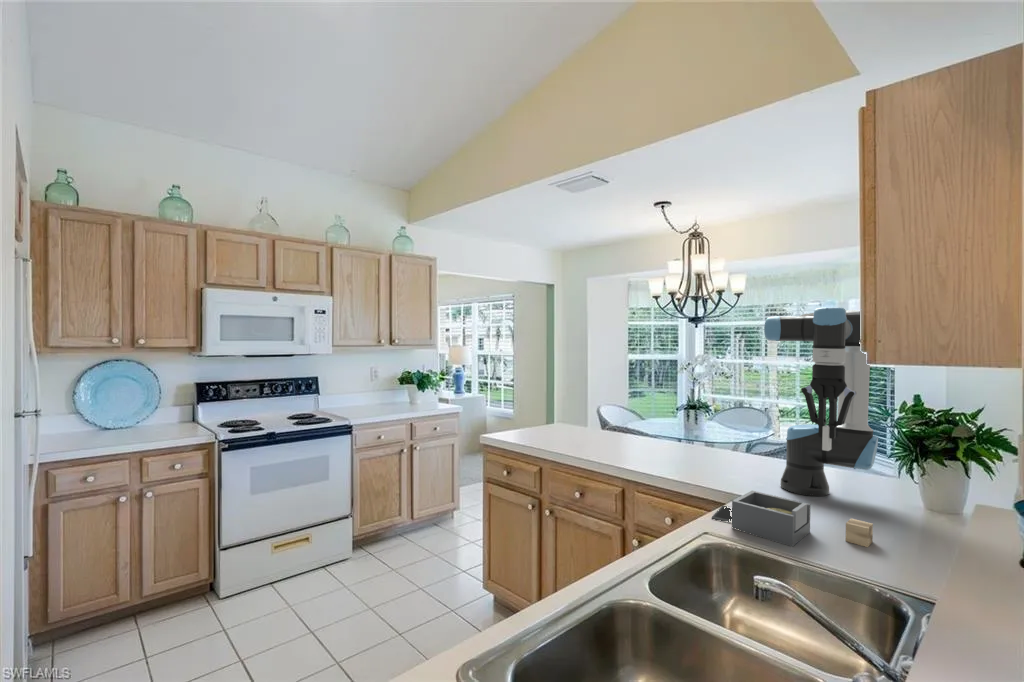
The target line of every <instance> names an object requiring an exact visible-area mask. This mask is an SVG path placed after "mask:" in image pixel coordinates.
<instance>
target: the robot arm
mask: <svg viewBox="0 0 1024 682" xmlns="http://www.w3.org/2000/svg"><path fill="white" fill-rule="evenodd" d="M860 310H861V309H849V310H848V309H845V308H844V307H818V308H815V309H814V310H813V312H809V313H803V314H800V315H799V316H798V315H797V316H794V315H793V316H779V315H777V316H769V317H767V318H766V319H765V321H764V326H763V327H764V329H763V330H764V337H765V339H767V341H774V342H812V362H813V363H814V364H813V365H812V367H811V368H812V370H811V371H812V372H811V374H812V375H811V381H810V382H809V385H807V386H805V387H802V388H800V391H801V393H802V394H803V395H804V398H805V402H806V406H807V411H808V415H809V418H810V422H811V423H814V424H807V423H806V424H796V425H792V426H791V425H790V426H789V427H788V428H787V431H786V438H785V440H786V450H785V451H786V453H785V454H786V462H785V464H786V465H785V469H784V471H783V472H782V475H781V478H780V483H779V484H780V485H781V486H780V485H779V486H780V488H781V487H782V489H783V488H784V489H786V490H785V491H787V490H788V491H787V492H789V491H791V492H790V493H793V492H794V493H793V494H797V495H802V496H810V497H823V496H828V495H829V494H830V485H829V482H828V479H827V477H826V473H825V469H824V468H825V465H830V466H837V467H844V468H849V469H853V470H865V471H867V470H870V469H872V467H874V465H875V464H874V463H875V461H876V456H877V451H878V446H879V437H878V436H876V435H874V430H873V429H872V428H871V427H870V425H869V402H870V401H869V399H870V376H871V375H870V371H871V370H870V369H871V364H870V365H867V364H866V354H864V353H862V352H861V351H860V344H859V340H860ZM813 391H814V393H815V394H816V396H817V400H818V406H817V407H818V410H817V408H816V404H815V399H814V396H813V394H812V393H813ZM827 400H828V404H829V406H828V425H827ZM817 411H818V412H817ZM784 489H783V490H784Z"/></svg>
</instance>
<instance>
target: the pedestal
mask: <svg viewBox="0 0 1024 682" xmlns="http://www.w3.org/2000/svg"><path fill="white" fill-rule="evenodd" d="M873 528H874V523H872V522H867V521H864V520H859V519H855V518H852V517H851V518H850V519H849V520H847V521H846V523H845V542H846V543H850V544H854V545H858V546H861V547H866V548H869V547H870V545H871V544H872V543H873V535H874V533H873V532H874V531H873V530H874V529H873Z"/></svg>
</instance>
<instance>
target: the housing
mask: <svg viewBox="0 0 1024 682" xmlns="http://www.w3.org/2000/svg"><path fill="white" fill-rule="evenodd" d="M802 503H804V502H802V501H797V500H794V499H789V498H787V497H782V496H776V495H773V494H769V493H765V492H764V493H763V492H760V491H757V490H751V491H748V492H747V493H744V494H743V495H741V496H739V497H737V498H735V499H734V500H732V501H731V507H732V524H731V528H732V527H733V528H736V529H739V530H741V531H740V532H742V531H745V532H747V533H746V534H749V533H751V534H750V535H752V534H754V535H753V536H755V535H757V536H756V537H759V536H761V537H760V538H762V537H763V539H765V538H767V539H766V540H769V539H770V541H772V540H773V541H772V542H775V541H776V543H780V544H783V545H786V546H789V547H794V546H795V545H796V544H797V543H799V542H800V541H801V540H802V539H804V537H806V536H808V535H809V534H810V533H811V508H812V507H811V503H807V502H805V503H806V504H807V523H806V524H804V525H803V526H802V527H800V528H799V529H798V530H796V531H794V520H795V515H791V514H787V513H783V512H779V511H775V510H771V509H767V508H779V509H784V510H787V511H790V512H792V510H793V509H795V508H796V507H798V506H799V505H801V504H802ZM764 507H765V508H764ZM739 530H738V531H739ZM745 532H744V533H745Z"/></svg>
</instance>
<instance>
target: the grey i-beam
mask: <svg viewBox="0 0 1024 682" xmlns="http://www.w3.org/2000/svg"><path fill="white" fill-rule="evenodd" d="M806 503H807V502H803V503H802V504H801V505H799V506H798V507H796V508H795V509H793V510H792V515H795V520H794V531H796V530H798V529H799V528H800V527H802V526H803V525H804V524H806V523H807V504H808V503H807V504H806ZM764 508H765V507H764Z"/></svg>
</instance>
